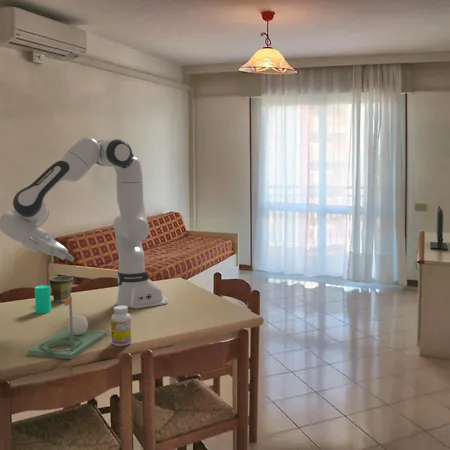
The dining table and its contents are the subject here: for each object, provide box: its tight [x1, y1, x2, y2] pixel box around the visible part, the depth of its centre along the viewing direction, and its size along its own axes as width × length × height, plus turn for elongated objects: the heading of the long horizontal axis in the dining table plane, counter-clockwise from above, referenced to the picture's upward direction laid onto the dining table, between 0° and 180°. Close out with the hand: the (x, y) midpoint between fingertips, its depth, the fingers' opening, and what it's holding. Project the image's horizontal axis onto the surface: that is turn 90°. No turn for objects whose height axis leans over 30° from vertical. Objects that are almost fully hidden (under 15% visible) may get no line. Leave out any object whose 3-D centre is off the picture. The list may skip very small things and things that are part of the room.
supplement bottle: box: [110, 305, 132, 347], centre depth 187 cm, size 7×7×13 cm
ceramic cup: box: [48, 275, 74, 303], centre depth 244 cm, size 13×10×10 cm
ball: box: [67, 314, 89, 335], centre depth 192 cm, size 7×7×7 cm
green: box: [27, 296, 108, 360], centre depth 185 cm, size 24×16×20 cm, turn 165°
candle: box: [34, 284, 52, 315], centre depth 226 cm, size 6×6×12 cm
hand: (68, 258), depth 203 cm, fingers open, 8 cm apart
